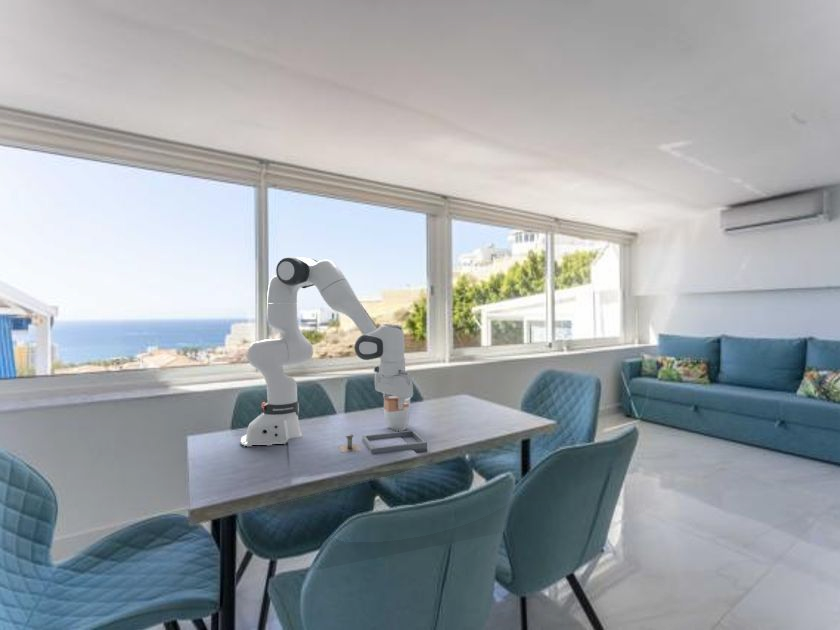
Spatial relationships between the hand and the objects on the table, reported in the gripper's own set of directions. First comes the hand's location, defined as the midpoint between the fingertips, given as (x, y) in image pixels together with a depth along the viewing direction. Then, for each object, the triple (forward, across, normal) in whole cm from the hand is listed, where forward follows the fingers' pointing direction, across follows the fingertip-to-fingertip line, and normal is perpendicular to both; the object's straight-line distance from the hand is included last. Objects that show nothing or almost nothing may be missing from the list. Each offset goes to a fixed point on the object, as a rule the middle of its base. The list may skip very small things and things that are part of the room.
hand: (393, 407), depth 154 cm
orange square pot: (+15, +5, +15) cm, 22 cm away
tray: (+15, 0, 0) cm, 15 cm away
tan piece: (+1, 0, -1) cm, 2 cm away
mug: (+15, +19, -14) cm, 28 cm away
